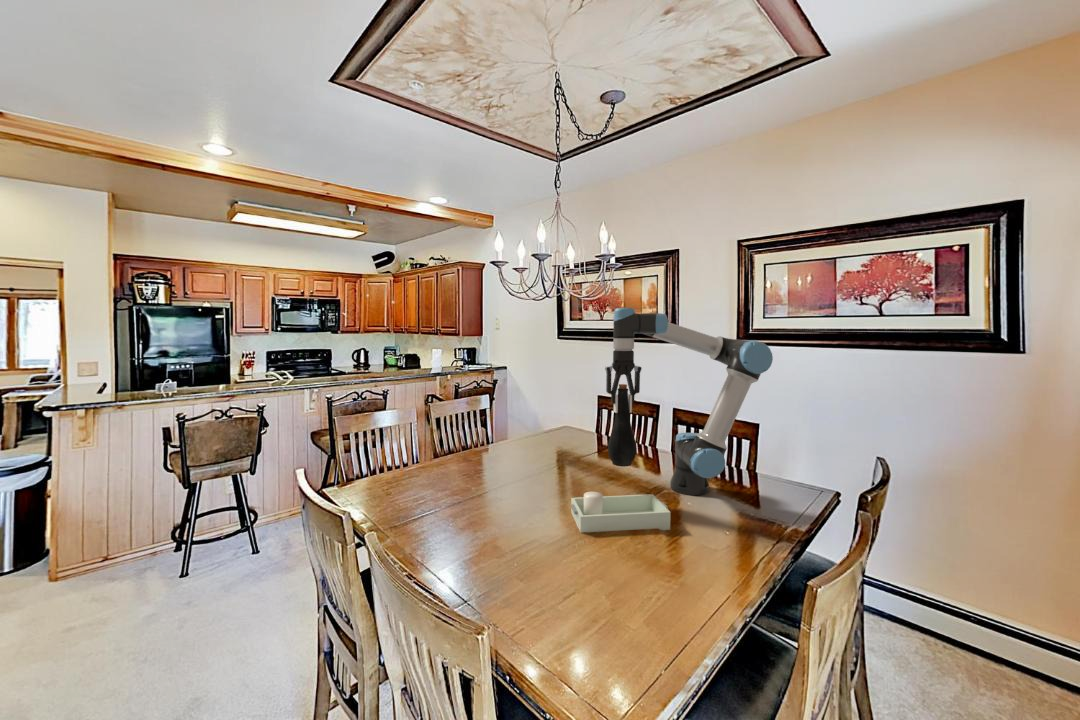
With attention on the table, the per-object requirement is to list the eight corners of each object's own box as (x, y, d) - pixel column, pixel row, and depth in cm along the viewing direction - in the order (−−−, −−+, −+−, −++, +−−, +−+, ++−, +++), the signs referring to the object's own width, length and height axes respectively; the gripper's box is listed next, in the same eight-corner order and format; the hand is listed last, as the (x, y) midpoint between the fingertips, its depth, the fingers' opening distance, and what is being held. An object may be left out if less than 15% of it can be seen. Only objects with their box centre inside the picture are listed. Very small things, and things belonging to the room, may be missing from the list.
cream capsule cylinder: (599, 516, 158) (600, 491, 158) (604, 524, 152) (604, 498, 151) (581, 517, 158) (581, 492, 157) (585, 525, 151) (586, 499, 151)
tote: (655, 510, 166) (655, 494, 165) (673, 529, 150) (673, 512, 149) (568, 514, 162) (568, 498, 161) (577, 535, 146) (577, 516, 146)
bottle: (636, 468, 166) (637, 387, 163) (606, 466, 168) (607, 386, 166) (636, 460, 176) (637, 383, 174) (608, 458, 178) (609, 382, 176)
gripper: (643, 349, 173) (642, 409, 175) (597, 349, 171) (597, 410, 173) (650, 350, 166) (649, 413, 168) (602, 350, 164) (601, 414, 166)
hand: (622, 411), depth 170 cm, fingers closed on bottle, 5 cm apart
